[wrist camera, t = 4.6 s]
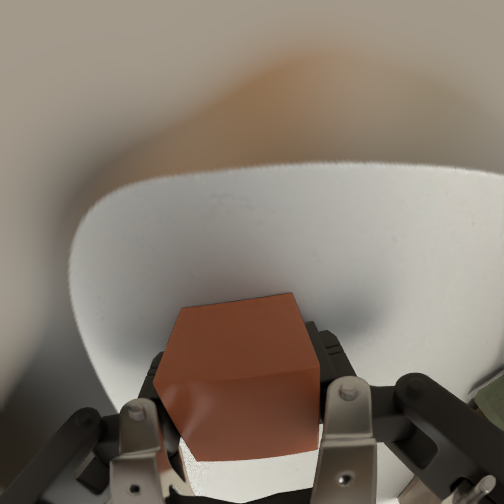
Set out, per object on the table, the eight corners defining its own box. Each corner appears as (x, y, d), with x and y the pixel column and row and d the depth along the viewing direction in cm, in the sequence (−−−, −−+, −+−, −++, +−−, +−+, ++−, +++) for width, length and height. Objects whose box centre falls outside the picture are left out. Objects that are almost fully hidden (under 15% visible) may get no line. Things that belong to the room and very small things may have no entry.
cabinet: (431, 452, 17) (464, 517, 7) (508, 403, 16) (543, 449, 7) (397, 498, 21) (414, 545, 12) (466, 462, 21) (487, 501, 11)
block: (181, 307, 11) (151, 382, 6) (292, 292, 10) (320, 365, 6) (206, 386, 12) (196, 461, 8) (299, 374, 12) (318, 449, 8)
